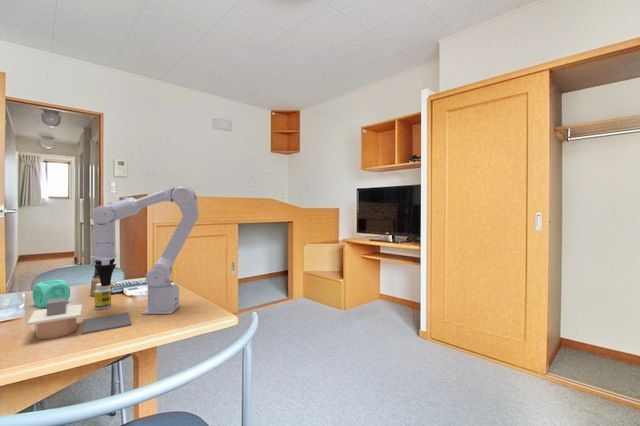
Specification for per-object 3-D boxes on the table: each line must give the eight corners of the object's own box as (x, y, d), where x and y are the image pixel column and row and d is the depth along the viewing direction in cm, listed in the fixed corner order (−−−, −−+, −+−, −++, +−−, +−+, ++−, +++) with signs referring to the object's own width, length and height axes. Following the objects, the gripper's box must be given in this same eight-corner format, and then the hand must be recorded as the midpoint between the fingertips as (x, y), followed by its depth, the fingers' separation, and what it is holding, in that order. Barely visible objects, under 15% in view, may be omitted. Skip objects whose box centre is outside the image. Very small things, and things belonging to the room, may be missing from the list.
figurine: (108, 290, 130) (107, 262, 130) (115, 293, 126) (114, 264, 126) (87, 294, 124) (87, 264, 124) (94, 298, 120) (94, 267, 120)
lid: (82, 305, 97) (82, 292, 96) (80, 316, 88) (80, 302, 87) (34, 312, 90) (34, 298, 90) (27, 325, 81) (27, 309, 81)
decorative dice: (59, 299, 118) (58, 278, 118) (70, 302, 114) (70, 281, 114) (32, 305, 111) (31, 283, 110) (44, 309, 107) (43, 286, 107)
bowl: (82, 326, 94) (82, 309, 93) (60, 338, 85) (60, 320, 85) (52, 326, 93) (52, 310, 93) (27, 338, 84) (27, 320, 84)
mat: (128, 313, 104) (128, 312, 104) (131, 325, 95) (131, 323, 94) (83, 321, 97) (83, 319, 97) (81, 334, 88) (81, 332, 88)
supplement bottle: (102, 310, 107) (102, 286, 107) (91, 309, 108) (91, 285, 108) (114, 305, 112) (114, 282, 112) (103, 304, 113) (103, 281, 113)
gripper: (90, 240, 106) (90, 280, 107) (89, 245, 94) (89, 290, 95) (115, 239, 110) (115, 277, 111) (117, 244, 99) (117, 286, 99)
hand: (105, 283), depth 103 cm, fingers open, 7 cm apart
